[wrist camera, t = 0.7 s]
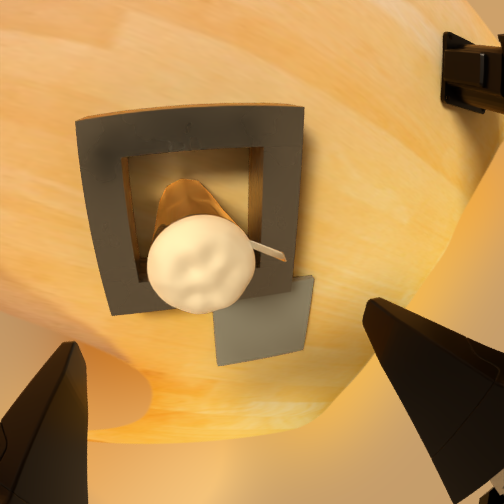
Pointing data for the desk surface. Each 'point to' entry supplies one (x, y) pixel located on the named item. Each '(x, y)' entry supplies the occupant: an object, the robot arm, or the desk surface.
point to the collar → (185, 139)
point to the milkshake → (199, 251)
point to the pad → (263, 325)
